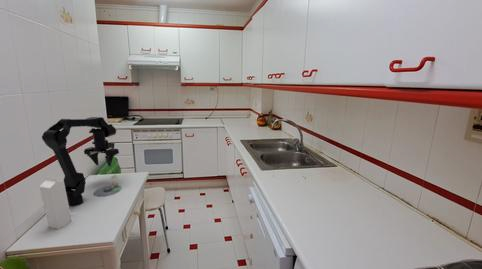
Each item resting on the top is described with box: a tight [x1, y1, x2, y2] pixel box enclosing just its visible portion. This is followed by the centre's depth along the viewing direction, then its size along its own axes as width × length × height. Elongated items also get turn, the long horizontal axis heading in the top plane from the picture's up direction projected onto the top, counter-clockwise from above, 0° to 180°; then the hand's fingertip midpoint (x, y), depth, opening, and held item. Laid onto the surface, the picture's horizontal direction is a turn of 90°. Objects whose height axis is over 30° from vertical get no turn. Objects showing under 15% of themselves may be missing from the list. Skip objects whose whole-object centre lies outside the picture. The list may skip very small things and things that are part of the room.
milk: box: [39, 176, 72, 230], centre depth 102 cm, size 6×6×22 cm
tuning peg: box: [103, 175, 119, 192], centre depth 135 cm, size 9×4×6 cm, turn 167°
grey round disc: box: [92, 184, 123, 198], centre depth 134 cm, size 14×14×1 cm
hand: (103, 165), depth 138 cm, fingers open, 8 cm apart
